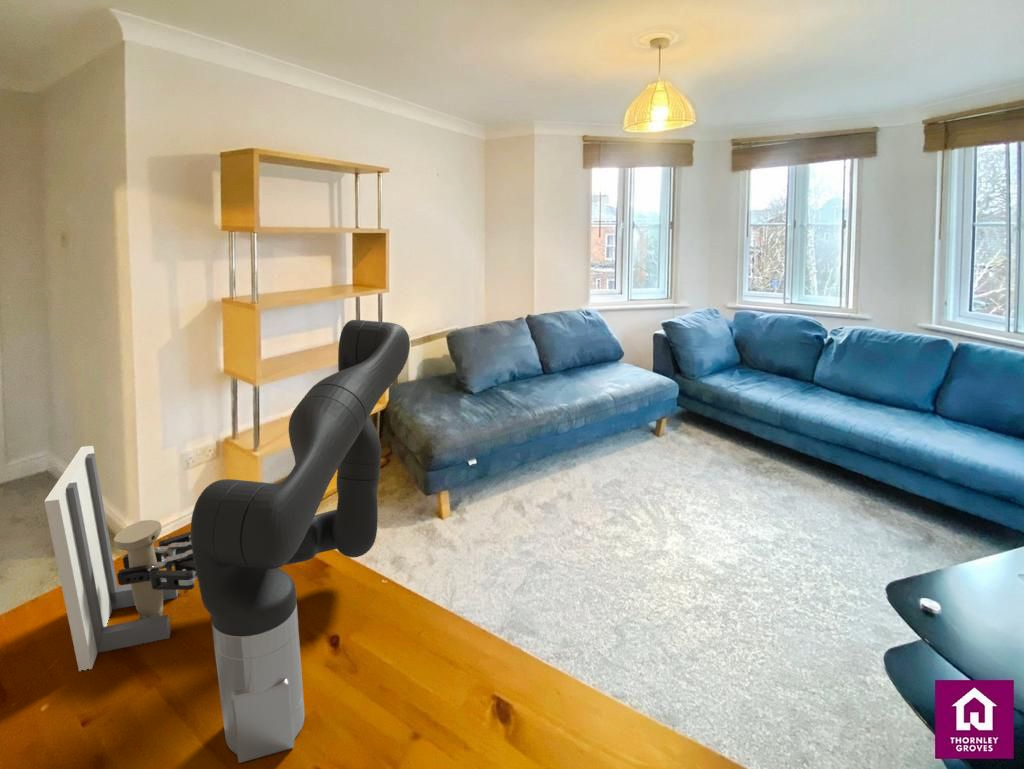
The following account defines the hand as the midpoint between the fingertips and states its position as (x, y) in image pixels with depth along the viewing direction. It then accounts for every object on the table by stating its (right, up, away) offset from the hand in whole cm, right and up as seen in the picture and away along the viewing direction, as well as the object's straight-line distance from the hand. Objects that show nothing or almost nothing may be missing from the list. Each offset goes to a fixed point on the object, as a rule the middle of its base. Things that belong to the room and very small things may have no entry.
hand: (121, 569), depth 88 cm
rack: (0, -9, +3) cm, 9 cm away
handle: (+2, -9, +4) cm, 10 cm away
